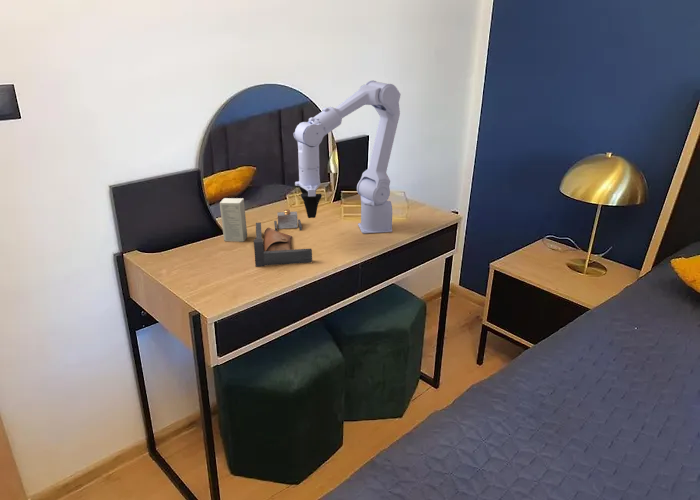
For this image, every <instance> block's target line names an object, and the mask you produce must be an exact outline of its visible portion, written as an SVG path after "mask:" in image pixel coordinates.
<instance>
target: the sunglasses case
mask: <svg viewBox="0 0 700 500" xmlns="http://www.w3.org/2000/svg"><path fill="white" fill-rule="evenodd" d="M263 233H264V234H263V248H264V251H278V250H292V238H293V236H292V235H290V234H287V233H283V232H280V231H278V230H277V231H275V229H273V228H270V227H266V229H265V230H264V232H263Z"/></svg>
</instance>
